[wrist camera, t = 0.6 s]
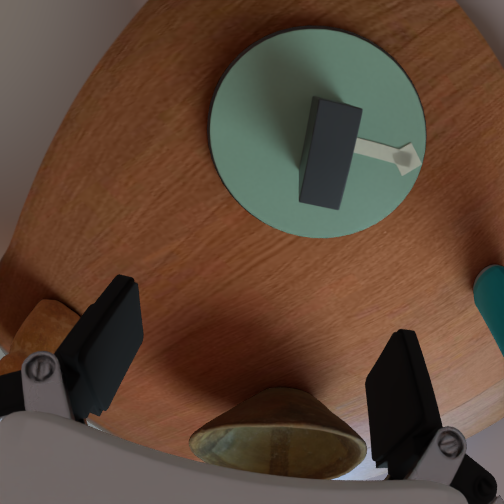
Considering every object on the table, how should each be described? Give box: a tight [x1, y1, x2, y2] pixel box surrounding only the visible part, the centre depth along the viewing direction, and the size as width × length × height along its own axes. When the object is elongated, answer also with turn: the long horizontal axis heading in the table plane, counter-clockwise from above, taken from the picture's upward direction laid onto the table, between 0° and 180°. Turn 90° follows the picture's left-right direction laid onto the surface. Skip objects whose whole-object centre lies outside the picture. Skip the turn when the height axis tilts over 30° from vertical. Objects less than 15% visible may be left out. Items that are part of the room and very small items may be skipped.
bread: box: [0, 299, 81, 375], centre depth 37 cm, size 16×26×17 cm, turn 133°
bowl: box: [189, 387, 367, 480], centre depth 38 cm, size 22×23×10 cm
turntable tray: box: [210, 29, 426, 238], centre depth 19 cm, size 17×17×8 cm
